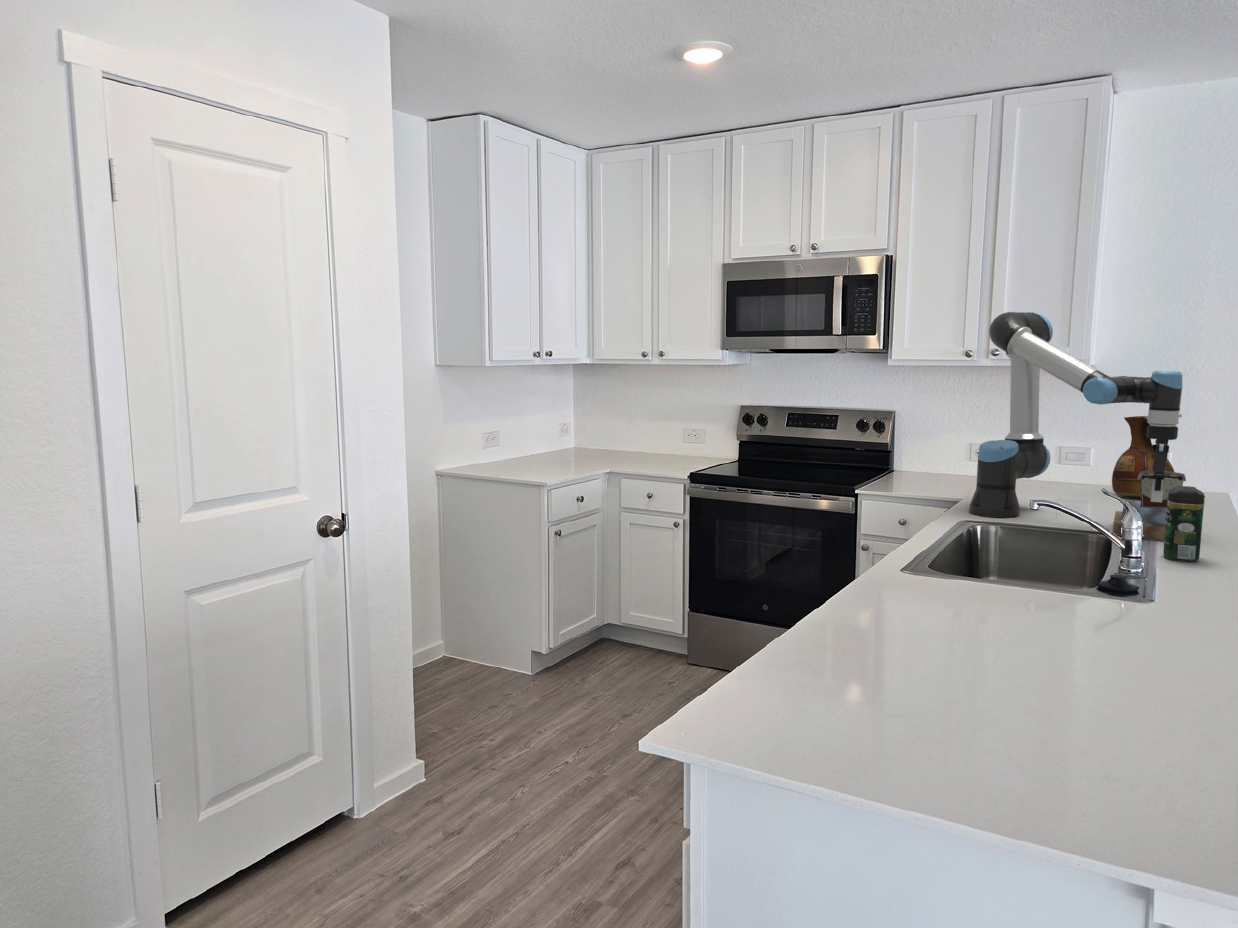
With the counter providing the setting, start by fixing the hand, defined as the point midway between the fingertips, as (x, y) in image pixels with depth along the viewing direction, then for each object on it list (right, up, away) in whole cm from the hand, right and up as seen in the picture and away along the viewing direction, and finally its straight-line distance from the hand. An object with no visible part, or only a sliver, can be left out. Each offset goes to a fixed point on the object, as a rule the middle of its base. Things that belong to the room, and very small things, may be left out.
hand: (1156, 498), depth 249 cm
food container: (0, -2, +1) cm, 3 cm away
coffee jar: (-11, -15, -27) cm, 33 cm away
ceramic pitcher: (+32, -2, +60) cm, 68 cm away
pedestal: (0, -10, +1) cm, 10 cm away
